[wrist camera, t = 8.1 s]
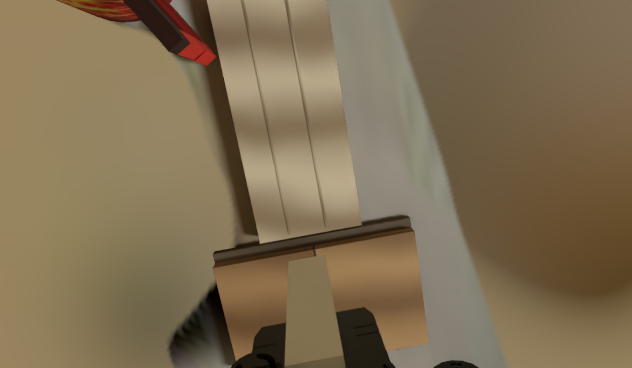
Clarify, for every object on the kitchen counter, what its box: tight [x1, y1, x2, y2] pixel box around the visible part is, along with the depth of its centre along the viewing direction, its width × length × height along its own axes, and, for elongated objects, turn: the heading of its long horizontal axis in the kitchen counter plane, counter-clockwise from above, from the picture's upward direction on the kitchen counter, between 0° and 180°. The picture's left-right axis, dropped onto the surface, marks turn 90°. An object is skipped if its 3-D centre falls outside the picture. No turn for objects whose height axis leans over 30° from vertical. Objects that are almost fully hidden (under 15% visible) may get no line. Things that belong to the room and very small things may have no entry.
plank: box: [207, 0, 362, 244], centre depth 30 cm, size 18×8×2 cm, turn 10°
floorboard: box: [213, 216, 429, 361], centre depth 34 cm, size 11×16×2 cm
